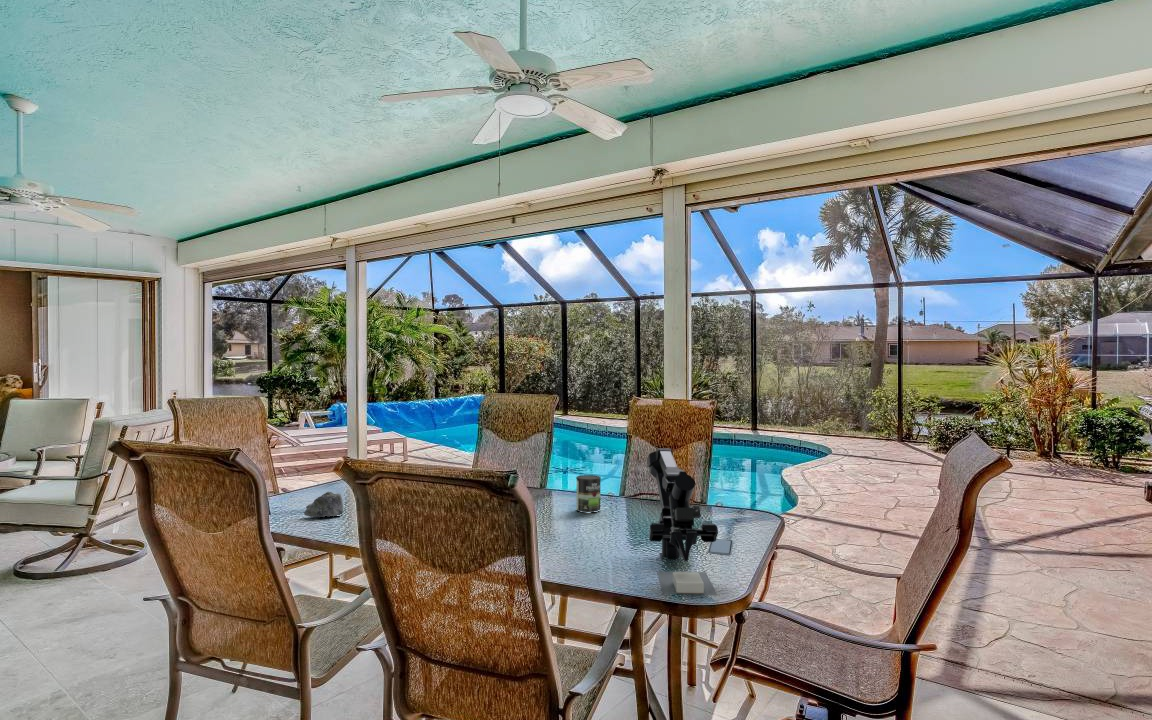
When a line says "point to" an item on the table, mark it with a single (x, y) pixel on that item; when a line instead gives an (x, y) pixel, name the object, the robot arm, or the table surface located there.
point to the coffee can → (588, 493)
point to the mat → (669, 587)
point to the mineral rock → (325, 506)
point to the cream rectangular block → (688, 582)
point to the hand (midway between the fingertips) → (686, 560)
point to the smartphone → (721, 547)
